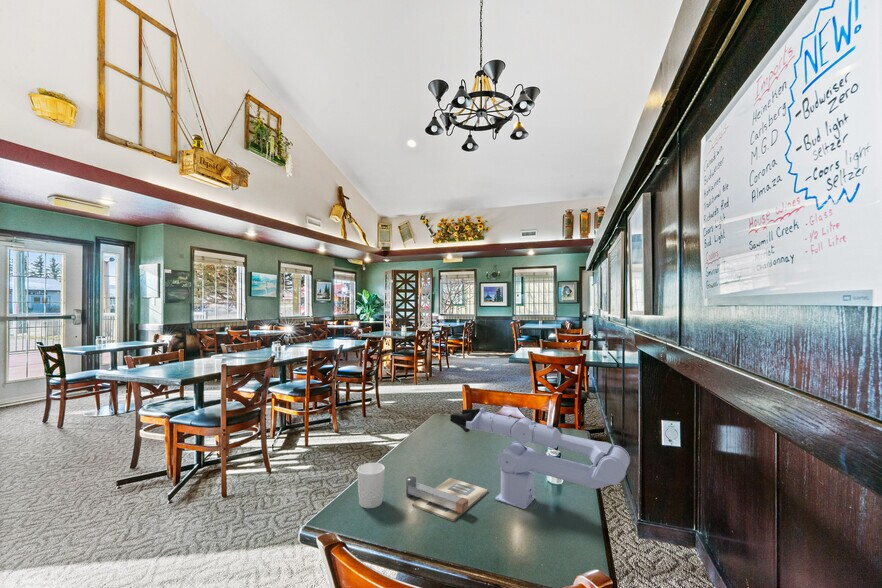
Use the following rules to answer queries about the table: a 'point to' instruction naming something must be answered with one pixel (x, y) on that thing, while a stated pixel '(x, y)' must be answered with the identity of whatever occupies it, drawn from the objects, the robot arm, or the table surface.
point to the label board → (453, 488)
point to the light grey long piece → (435, 495)
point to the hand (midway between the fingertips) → (456, 415)
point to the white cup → (370, 484)
